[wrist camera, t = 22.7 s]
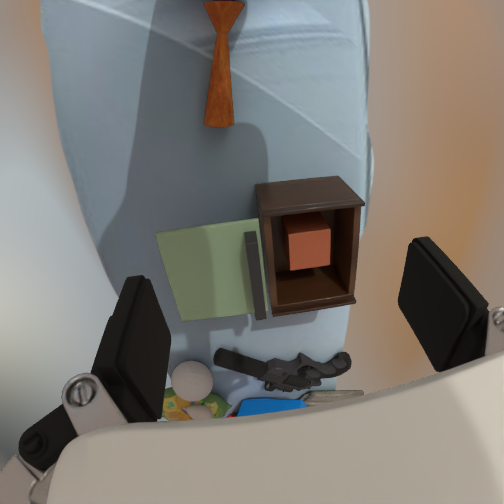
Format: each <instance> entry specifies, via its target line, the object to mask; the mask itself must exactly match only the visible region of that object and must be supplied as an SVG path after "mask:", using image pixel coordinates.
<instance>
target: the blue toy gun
mask: <svg viewBox="0 0 504 504" xmlns="http://www.w3.org/2000/svg"><path fill="white" fill-rule="evenodd" d="M304 407H307V406H306V404H305V403H304V402H303V401H302V400H287V399H268V398H262V399H246V400H243V401H242V403H241V406H240V409H239V412H238V415H237V416H236V415H229V417H239V416H249V415H257V414H265V413H273V412H280V411H286V410H292V409H299V408H304ZM229 417H228V418H229Z"/></svg>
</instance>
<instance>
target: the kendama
mask: <svg viewBox="0 0 504 504" xmlns="http://www.w3.org/2000/svg"><path fill="white" fill-rule="evenodd" d="M235 1H236V0H214V1H211V2H206V3H203V4H204V6H205V8H206V10H207V12H208V15H209V17H210V19H211V21H212V23H213V25H214V28H215V30H216V32H217V38H216V43H215V50H214V56H213V62H212V69H211V75H210V82H209V89H208V96H207V104H206V111H205V119H204V125H206V126H210V127H228V126H232V125H234V115H233V102H232V88H231V74H230V60H229V45H228V32H229V31H230V29H231V27H232V25H233V24H234V22H235V20H236V18H237V17H238V15H239V13H240V12H241V10H242V8H243V7H244V5H245V4H244V3H241V2H235Z"/></svg>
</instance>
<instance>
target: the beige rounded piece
mask: <svg viewBox="0 0 504 504" xmlns="http://www.w3.org/2000/svg"><path fill="white" fill-rule="evenodd" d="M171 384H172V388H173V390H174V391H175V393H176V394H177V396H176V402H177V406H178V407H177V408H178V410H181V409H182V408H185V409H186V411H187V413H188V414H189V416H190V417H192V418H193V419H194V420H203V419H212V416H213V413H212V411H211V410H210V408H208V407H206V406H204V405H199V404H192V405H190V403H191V401H200V400H202V399H204V398H206V397H207V396H208V395H209V393H210V392H211V390H212V387H213V376H212V374H211V371H210V370H209V369H208V368H207V367H206V366H205V365H203V364H202V363H200V362H197V361H185V362H183V363H181V364H179V365H178V366H177V367H176V368H175V369H174V371H173V373H172V377H171Z"/></svg>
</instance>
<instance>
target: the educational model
mask: <svg viewBox="0 0 504 504" xmlns="http://www.w3.org/2000/svg"><path fill="white" fill-rule="evenodd" d="M176 396H177V394H176V393H175V391H174V390H173V388H172V387H171V388H167V389H165V393H164V402H163V411H162V417H164V418H166V419H167V420H169V421H187V420H194V419H193V418H192V417H190V416H189V414H188V413H187V411H186V409H185V408H182V409H181V410H178V408H177V407H178V406H177V402H176ZM192 404H199V405H204V406H206V407H208V408H210V410H211V411H212V413H213V416H212V419H217V418H222V417H223V416H224V415H225V413H226V411H227V410H228V409H229V408H230V407H231V405H229V404H228V403H227V402H226V401H225V400H224V399H223V398H221V397H220V396H218V395H216V394H213V393H209V395H208V396H207V397H206V398H204V399H202V400H200V401H191V403H190V405H192Z"/></svg>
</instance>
